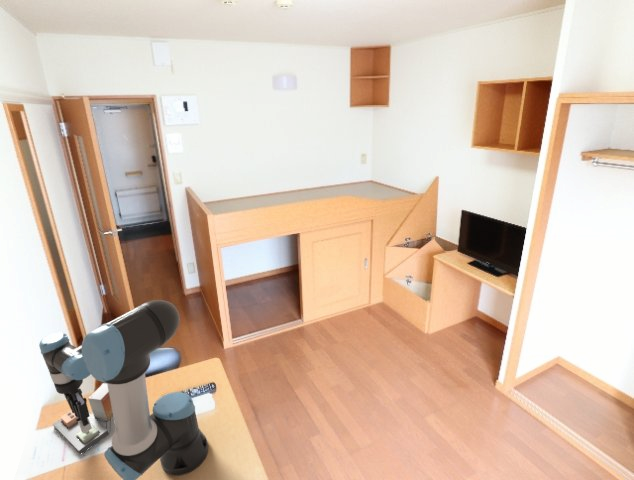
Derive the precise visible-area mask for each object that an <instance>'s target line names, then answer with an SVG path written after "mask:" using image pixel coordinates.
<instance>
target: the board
mask: <svg viewBox="0 0 634 480" xmlns="http://www.w3.org/2000/svg"><path fill="white" fill-rule="evenodd" d="M88 419H89V422H90V425H91V424H92V425H93V426H94V427H95V428H96V429H97V430H98V432H99V434H98V435H96V436H95V437H94V438H92V439H91V440H89V441H88V442H87V443H85V444H84V445H83V444H82V443H81V442H80V441H79V440H78V437H77V433H79V432H80V431H81V428H80V426H79V423H78V422H77V423H75V424H74V425H72V426H71V427H69V428H67V427H66V426H65V425H64V424H63V422H62V420H61V418H60V419H58V420H57V421H55V422H54V423H52V425H53V428H54V429H55V431H57V433H58V434H60V436H62V438H63V439H64V440H65V441H66V442H67V443H68V444H69V445H70V446H71V447H72V448H73V450H75V452H77V453H78V454H79V455H80V454H81V453H82V454H83V452H84V451H85V452H87V451H88V450H89V449H91V448H92V447H94V446H95V445H97V444H98V443H99V442H101V441H102V440H103V439H104V438H106V437H107V436H109V435H110V431H109V429H108V428H107V427H105V426H104V424H103V423H101V422H100V420H97V419H95V417H94V415H92V414H91V413H90V412H89V417H88ZM94 444H95V445H94ZM91 446H92V447H91ZM90 447H91V448H90ZM88 448H89V449H88ZM87 449H88V450H87ZM86 450H87V451H86ZM85 452H84V453H85ZM82 454H81V455H82Z"/></svg>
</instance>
